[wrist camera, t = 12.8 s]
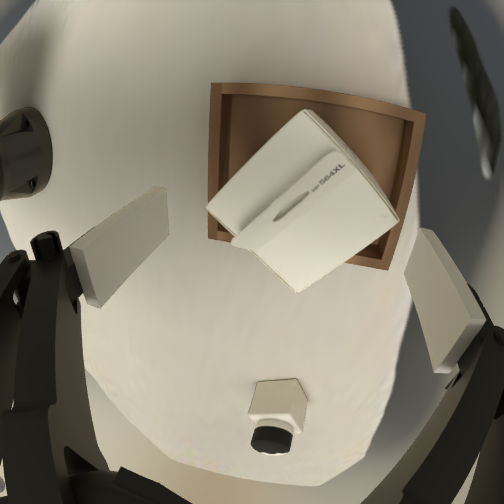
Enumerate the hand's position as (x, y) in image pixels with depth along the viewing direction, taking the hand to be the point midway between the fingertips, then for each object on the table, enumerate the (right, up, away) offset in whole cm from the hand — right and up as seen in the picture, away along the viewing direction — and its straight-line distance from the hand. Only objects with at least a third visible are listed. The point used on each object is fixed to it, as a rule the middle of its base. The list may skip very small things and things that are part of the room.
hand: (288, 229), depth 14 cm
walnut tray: (+4, +7, +13) cm, 15 cm away
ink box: (+4, +7, +12) cm, 14 cm away
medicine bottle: (+4, -25, +31) cm, 40 cm away
